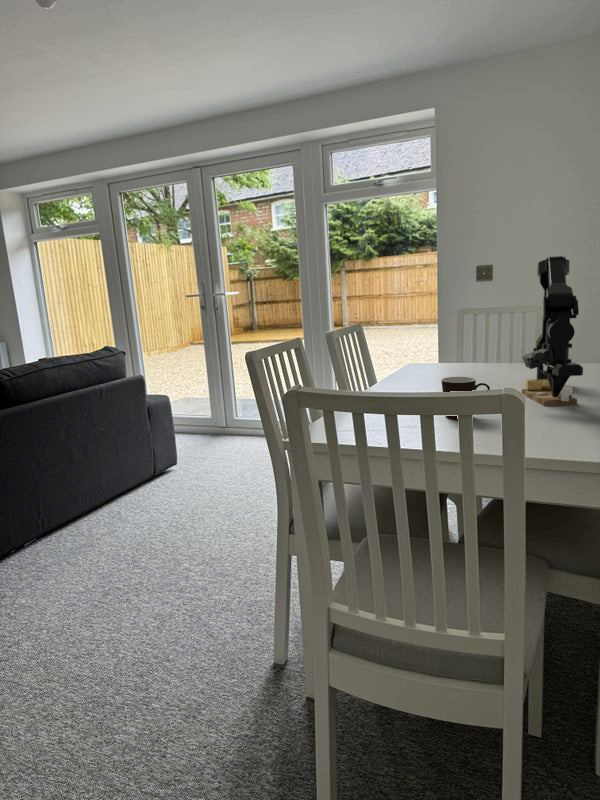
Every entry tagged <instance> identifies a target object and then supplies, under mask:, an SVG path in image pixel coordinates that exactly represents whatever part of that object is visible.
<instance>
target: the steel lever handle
mask: <svg viewBox="0 0 600 800" xmlns="http://www.w3.org/2000/svg"><path fill="white" fill-rule="evenodd" d="M558 397H559V398H561V401H569V398H571V397H573V387H572V386H565V385H564V387H563V388H562V390H561V392H560V394H559V395H558Z"/></svg>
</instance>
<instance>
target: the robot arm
mask: <svg viewBox="0 0 600 800" xmlns="http://www.w3.org/2000/svg"><path fill="white" fill-rule="evenodd" d="M536 271H537V272H536V276H537V277H539V279H538V280H539V284H540V285H541V287H542V288H543V300H542V322H541V323H542V325H541V334H540V335H539V337H538V338H537V339H536V341H535V347H533V351H531V352H529V353H526V354H524V355H522V359H523V363H524V366H525V368H527V369H530V370H533V369H536V379H548V382H549V385H550V389H551V393H552V396H553V397H558V395H559V394H560V392H561V390H562V388H563V387H564V386H565V385H566V383H567V381H569V378H571V377H576V376H578V377H579V376H583V375H584V367H583V366H582V365H581V364H579V363H576V362H572V358H569V356H570V352H569V351H570V348H571V349H572V348H573V343H570V341H572V339H573V338H574V336H575V327H574V325H573V324H572V323H571V319H577V318H578V317H577V316H579V300H578V299H577V296H576V295H574V292H573V288H572V287H571V286H569V285H567V279H566V277H567V276H568V275H569V274H570V259H567V258H566V256H563V255H560V256H559V255H558V256H556V255H555V256H548V257H546V259H543V260H541V261H538V262H537V269H536Z"/></svg>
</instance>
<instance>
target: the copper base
mask: <svg viewBox="0 0 600 800" xmlns="http://www.w3.org/2000/svg"><path fill="white" fill-rule="evenodd" d="M522 393H523V394H524V395H523V394H522ZM521 394H522V395H523V396H525V397H526V398H528V397H529V398H528V399H530V398H531V399H530V400H532V401H534V402H536V403H538V404H540V405H541V406H543V407H546V406H547V407H548V406H549V407H550V406H551V407H553V406H571V405H572V406H574V405H578V399H577V398H575V397H573V396H572V397H571V398H569V401H561V398H559V397H553V396H552V393H551V390H543V389H539V390H527V389H525V388H521Z"/></svg>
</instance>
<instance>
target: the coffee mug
mask: <svg viewBox="0 0 600 800" xmlns="http://www.w3.org/2000/svg"><path fill="white" fill-rule="evenodd" d="M440 380H441V387H442V388H441V389H442V393H443V392H450V391H472V390H475V391H477V389H478V388H479V387H481V386H485V387H486V388H487V391H488V390H490V391H491V388H490V386H489V385H488V384H487V383H484V382H480V383H477V384H476V382H477V379H476V378H474V377H469V376H447V377H443V378H441V379H440ZM445 418H446V419H448V420H452V421H458V420H457V416H446V415H445Z"/></svg>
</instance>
